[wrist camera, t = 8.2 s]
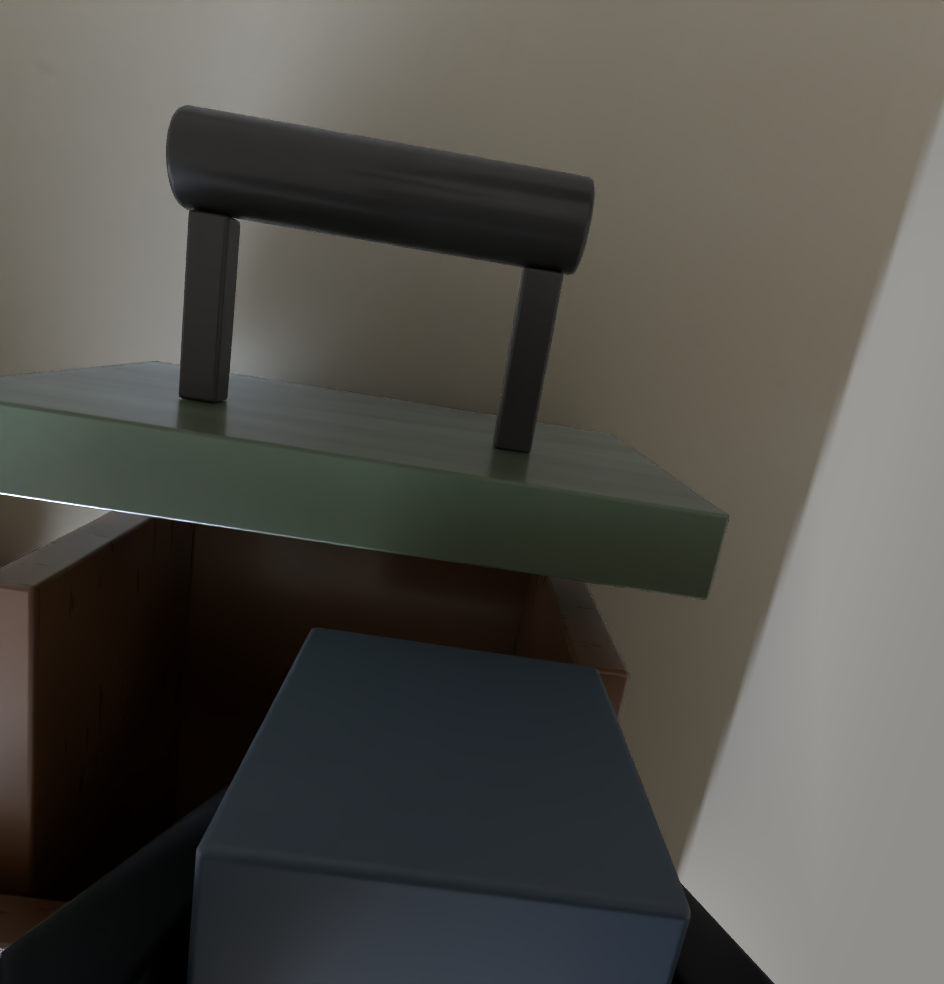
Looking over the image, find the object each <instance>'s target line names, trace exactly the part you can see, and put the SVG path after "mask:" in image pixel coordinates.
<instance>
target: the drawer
mask: <svg viewBox="0 0 944 984" xmlns="http://www.w3.org/2000/svg"><path fill="white" fill-rule="evenodd" d="M166 163H167V172H168V178H169V182H170V186H171V189H172V192H173V194H174V196H175V198H176V200H177V201H178V203H179V204H180V205H181V206H183V207H184V208H186V209H187V210H190V211H189V218H188V236H187V253H186V271H185V289H184V307H183V325H182V343H181V360H180V365H178V364H172V363H165V362H159V361H152V362H142V363H132V364H121V365H111V366H101V367H91V368H80V369H70V370H60V371H49V372H39V373H29V374H19V375H8V376H0V494H2V495H8V496H15V497H22V498H28V499H35V500H42V501H48V502H55V503H62V504H68V505H75V506H82V507H88V508H95V509H102V510H108V511H111V512H109V513H108V514H106V515H104V516H102V517H100V518H98V519H96V520H94V521H92V522H90V523H88V524H86V525H84V526H82V527H80V528H78V529H76V530H74V531H72V532H70V533H68V534H66V535H64V536H62V537H60V538H58V539H56V540H54V541H52V542H51V543H49V544H47V545H45V546H43V547H41V548H39V549H37V550H35V551H33V552H31V553H29V554H27V555H25V556H23V557H21V558H19V559H17V560H15V561H13V562H11V563H9V564H7V565H5V566H3V567H1V568H0V893H2V894H10V895H18V896H27V897H35V898H43V899H51V900H59V901H68V902H69V901H70V900H72V899H73V898H74V897H76V896H77V895H78V894H80V893H81V892H82V891H84V890H85V889H87V888H88V887H89V886H91V885H92V884H93V883H95V882H96V881H97V880H99V879H100V878H101V877H103V876H104V875H105V874H107V873H108V872H110V871H111V870H112V869H114V868H115V867H116V866H118V865H119V864H120V863H122V862H123V861H124V860H126V859H127V858H128V857H130V856H131V855H133V854H134V853H135V852H137V851H138V850H139V849H141V848H142V847H143V846H145V845H146V844H147V843H149V842H150V841H151V840H153V839H154V838H155V837H157V836H158V835H160V834H161V833H162V832H164V831H165V830H166V829H168V828H169V827H170V826H172V825H173V824H174V823H176V822H177V821H178V820H180V819H181V818H183V817H184V816H185V815H187V814H188V813H189V812H191V811H192V810H193V809H195V808H196V807H197V806H199V805H200V804H201V803H203V802H204V801H206V800H207V799H208V798H210V797H211V796H212V795H214V794H215V793H216V792H218V791H219V790H220V789H222V788H223V787H224V786H226V785H227V784H229V783H230V782H231V781H232V780H233V778H234V776H235V774H236V773H237V771H238V769H239V767H240V765H241V763H242V761H243V759H244V757H245V755H246V753H247V751H248V749H249V748H250V746H251V744H252V742H253V740H254V738H255V736H256V734H257V732H258V730H259V728H260V726H261V725H262V723H263V721H264V719H265V717H266V715H267V713H268V711H269V709H270V707H271V705H272V703H273V701H274V700H275V698H276V696H277V694H278V692H279V690H280V688H281V686H282V684H283V682H284V680H285V678H286V676H287V675H288V673H289V671H290V669H291V667H292V665H293V663H294V661H295V659H296V657H297V655H298V653H299V652H300V650H301V648H302V646H303V644H304V642H305V640H306V638H307V636H308V634H309V632H310V631H311V629H312V628H317V627H318V628H325V629H332V630H339V631H346V632H353V633H360V634H367V635H374V636H380V637H387V638H394V639H401V640H408V641H415V642H422V643H429V644H436V645H443V646H450V647H456V648H463V649H470V650H477V651H484V652H491V653H498V654H505V655H512V656H519V657H526V658H532V659H539V660H546V661H553V662H560V663H567V664H574V665H581V666H588V667H593V668H595V669H597V670H598V671H599V673H600V676H601V679H602V681H603V684H604V686H605V689H606V692H607V694H608V697H609V699H610V702H611V704H612V707H613V710H614V712H615V715H616V717H617V720H618V723H619V719H620V715H621V711H622V707H623V703H624V699H625V694H626V690H627V686H628V682H629V678H630V676H629V672H628V670H627V668H626V666H625V664H624V662H623V660H622V657H621V655H620V653H619V651H618V649H617V647H616V645H615V643H614V641H613V639H612V636H611V634H610V632H609V630H608V628H607V626H606V624H605V622H604V620H603V617H602V615H601V613H600V611H599V609H598V607H597V605H596V603H595V601H594V599H593V596H592V594H591V592H590V590H589V588H588V586H587V584H586V582H589V583H596V584H602V585H609V586H616V587H622V588H629V589H636V590H642V591H649V592H656V593H662V594H669V595H676V596H682V597H689V598H696V599H702V600H706V599H708V597H709V593H710V589H711V586H712V582H713V578H714V574H715V570H716V567H717V563H718V559H719V555H720V552H721V548H722V544H723V540H724V536H725V533H726V529H727V525H728V521H729V515H727V514H726V513H724V512H723V511H722V510H720V509H719V508H717V507H716V506H715V505H713V504H712V503H710V502H709V501H707V500H706V499H705V498H703V497H702V496H700V495H699V494H697V493H696V492H695V491H693V490H692V489H690V488H689V487H687V486H686V485H685V484H683V483H682V482H680V481H679V480H678V479H676V478H675V477H673V476H672V475H670V474H669V473H668V472H666V471H665V470H663V469H662V468H660V467H659V466H658V465H656V464H655V463H653V462H652V461H650V460H649V459H648V458H646V457H645V456H643V455H642V454H641V453H639V452H638V451H636V450H635V449H633V448H632V447H631V446H629V445H628V444H626V443H625V442H623V441H622V440H621V439H619V438H618V437H616V436H615V435H613V434H607V433H601V432H595V431H589V430H582V429H576V428H570V427H564V426H558V425H551V424H545V423H539V422H536V421H537V416H538V411H539V405H540V400H541V394H542V389H543V384H544V378H545V373H546V367H547V362H548V357H549V351H550V346H551V340H552V335H553V330H554V324H555V319H556V314H557V308H558V303H559V297H560V292H561V287H562V281H563V275H572V274H574V273H575V271H576V270H577V268H578V266H579V264H580V261H581V259H582V256H583V253H584V249H585V246H586V242H587V238H588V234H589V229H590V224H591V219H592V213H593V206H594V197H595V187H594V181H593V179H591V178H590V177H587V176H582V175H576V174H571V173H565V172H559V171H554V170H548V169H543V168H537V167H531V166H526V165H520V164H515V163H509V162H503V161H498V160H492V159H487V158H481V157H476V156H470V155H464V154H459V153H453V152H448V151H442V150H436V149H431V148H425V147H420V146H414V145H408V144H403V143H397V142H392V141H386V140H380V139H375V138H369V137H364V136H358V135H353V134H347V133H341V132H336V131H330V130H325V129H319V128H313V127H308V126H302V125H297V124H291V123H285V122H280V121H274V120H269V119H263V118H257V117H252V116H246V115H241V114H235V113H230V112H224V111H218V110H213V109H207V108H202V107H196V106H190V105H185V106H182V107H180V108H178V109H177V110H176V111H175V113H174V114H173V116H172V119H171V121H170V125H169V129H168V134H167V143H166ZM234 218H237V219H243V220H249V221H255V222H260V223H266V224H272V225H278V226H284V227H290V228H295V229H301V230H307V231H313V232H319V233H325V234H330V235H336V236H342V237H348V238H354V239H359V240H365V241H371V242H377V243H383V244H389V245H394V246H400V247H406V248H412V249H418V250H424V251H429V252H435V253H441V254H447V255H453V256H459V257H464V258H470V259H476V260H482V261H488V262H494V263H499V264H505V265H511V266H517V267H523V268H524V269H523V271H522V272H521V278H520V284H519V290H518V296H517V301H516V307H515V313H514V319H513V325H512V331H511V337H510V342H509V348H508V354H507V360H506V366H505V372H504V378H503V383H502V389H501V395H500V401H499V407H498V413H497V416H495V415H489V414H483V413H477V412H470V411H464V410H458V409H452V408H446V407H439V406H433V405H427V404H421V403H414V402H408V401H402V400H396V399H390V398H383V397H377V396H371V395H365V394H358V393H352V392H346V391H340V390H334V389H327V388H321V387H315V386H309V385H302V384H296V383H290V382H284V381H277V380H271V379H265V378H259V377H253V376H246V375H240V374H234V373H230V359H231V346H232V332H233V319H234V305H235V292H236V278H237V264H238V251H239V237H240V222H239V221H238V220H236V219H234Z"/></svg>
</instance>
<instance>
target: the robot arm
mask: <svg viewBox="0 0 944 984" xmlns="http://www.w3.org/2000/svg"><path fill="white" fill-rule="evenodd" d="M231 782H232V781H231ZM231 782H230V783H229V784H227V785H226V786H224V787H223V788H222V789H220V790H219V791H218V792H216V793H215V794H214V795H212V796H211V797H210V798H208V799H207V800H206V801H204V802H203V803H201V804H200V805H199V806H197V807H196V808H195V809H193V810H192V811H191V812H189V813H188V814H187V815H185V816H184V817H183V818H181V819H180V820H178V821H177V822H176V823H174V824H173V825H172V826H170V827H169V828H168V829H166V830H165V831H164V832H162V833H161V834H160V835H158V836H157V837H155V838H154V839H153V840H151V841H150V842H149V843H147V844H146V845H145V846H143V847H142V848H141V849H139V850H138V851H137V852H135V853H134V854H133V855H131V856H130V857H128V858H127V859H126V860H124V861H123V862H122V863H120V864H119V865H118V866H116V867H115V868H114V869H112V870H111V871H110V872H108V873H107V874H105V875H104V876H103V877H101V878H100V879H99V880H97V881H96V882H95V883H93V884H92V885H91V886H89V887H88V888H87V889H85V890H84V891H82V892H81V893H80V894H78V895H77V896H76V897H74V898H73V899H72V900H70V901H69V902H68V903H66V904H65V905H64V906H62V907H61V908H60V909H58V910H57V911H55V912H54V913H53V914H51V915H50V916H49V917H47V918H46V919H45V920H43V921H42V922H41V923H39V924H38V925H37V926H35V927H34V928H32V929H31V930H30V931H28V932H27V933H26V934H24V935H23V936H22V937H20V938H19V939H18V940H16V941H15V942H14V943H12V944H11V945H9V946H8V947H7V948H5V949H4V950H3V951H2V952H1V953H0V984H186V982H187V969H188V955H189V942H190V928H191V915H192V901H193V888H194V875H195V861H196V849H197V847H198V846H199V844H200V842H201V840H202V838H203V836H204V834H205V832H206V830H207V828H208V826H209V824H210V823H211V821H212V819H213V817H214V815H215V813H216V811H217V809H218V807H219V805H220V803H221V801H222V799H223V798H224V796H225V794H226V792H227V790H228V788H229V786H230V784H231ZM681 886H682V888H683V891H684V894H685V896H686V899H687V901H688V904H689V907H690V913H691V914H690V922H689V925H688V928H687V932H686V935H685V938H684V942H683V945H682V949H681V952H680V955H679V959H678V962H677V966H676V969H675V972H674V976H673V979H672V983H671V984H774V983H773V982H772V981H771V980H770V979H769V977H768V976H767V975H766V974H765V973H764V972H763V971H762V970H761V969H760V968H759V967H758V966H757V964H756V963H754V961H753V960H752V959H751V958H750V957H749V956H748V955H747V954H746V953H745V952H744V950H743V949H742V948H741V947H740V946H739V945H738V944H737V943H736V942H735V941H734V940H733V939H732V938H731V936H729V934H728V933H727V932H726V931H725V930H724V929H723V928H722V927H721V926H720V925H719V924H718V923H717V922H716V920H715V919H714V918H713V917H712V916H711V915H710V914H709V913H708V912H707V911H706V910H705V909H704V908H703V906H702V905H701V904H700V903H699V902H698V901H697V900H696V899H695V898H694V897H693V896H692V895H691V893H690V892H689V891H688V890H687V889H686V888H685V887H684V886H683V885H682V884H681Z"/></svg>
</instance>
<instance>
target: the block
mask: <svg viewBox="0 0 944 984" xmlns="http://www.w3.org/2000/svg"><path fill="white" fill-rule="evenodd" d="M690 914H691V913H690V907H689V904H688V901H687V899H686V896H685V894H684V891H683V888H682V886H681V883H680V881H679V878H678V876H677V873H676V870H675V868H674V865H673V863H672V860H671V857H670V855H669V852H668V850H667V847H666V844H665V842H664V839H663V837H662V834H661V831H660V829H659V826H658V824H657V821H656V819H655V816H654V813H653V811H652V808H651V806H650V803H649V800H648V798H647V795H646V793H645V790H644V787H643V785H642V782H641V780H640V777H639V774H638V772H637V769H636V767H635V764H634V761H633V759H632V756H631V754H630V751H629V749H628V746H627V743H626V741H625V738H624V736H623V733H622V730H621V728H620V725H619V723H618V720H617V717H616V715H615V712H614V710H613V707H612V704H611V702H610V699H609V697H608V694H607V692H606V689H605V686H604V684H603V681H602V679H601V676H600V673H599V671H598V670H597V669H595V668H593V667H588V666H581V665H574V664H567V663H560V662H553V661H546V660H539V659H532V658H526V657H519V656H512V655H505V654H498V653H491V652H484V651H477V650H470V649H463V648H456V647H450V646H443V645H436V644H429V643H422V642H415V641H408V640H401V639H394V638H387V637H380V636H374V635H367V634H360V633H353V632H346V631H339V630H332V629H325V628H318V627H317V628H312V629H311V631H310V632H309V634H308V636H307V638H306V640H305V642H304V644H303V646H302V648H301V650H300V652H299V653H298V655H297V657H296V659H295V661H294V663H293V665H292V667H291V669H290V671H289V673H288V675H287V676H286V678H285V680H284V682H283V684H282V686H281V688H280V690H279V692H278V694H277V696H276V698H275V700H274V701H273V703H272V705H271V707H270V709H269V711H268V713H267V715H266V717H265V719H264V721H263V723H262V725H261V726H260V728H259V730H258V732H257V734H256V736H255V738H254V740H253V742H252V744H251V746H250V748H249V749H248V751H247V753H246V755H245V757H244V759H243V761H242V763H241V765H240V767H239V769H238V771H237V773H236V774H235V776H234V778H233V780H232V782H231V784H230V786H229V788H228V790H227V792H226V794H225V796H224V798H223V799H222V801H221V803H220V805H219V807H218V809H217V811H216V813H215V815H214V817H213V819H212V821H211V823H210V824H209V826H208V828H207V830H206V832H205V834H204V836H203V838H202V840H201V842H200V844H199V846H198V847H197V849H196V861H195V875H194V888H193V901H192V915H191V928H190V942H189V955H188V969H187V982H186V984H671V983H672V979H673V976H674V972H675V969H676V966H677V962H678V959H679V955H680V952H681V949H682V945H683V942H684V938H685V935H686V932H687V928H688V925H689V922H690Z"/></svg>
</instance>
